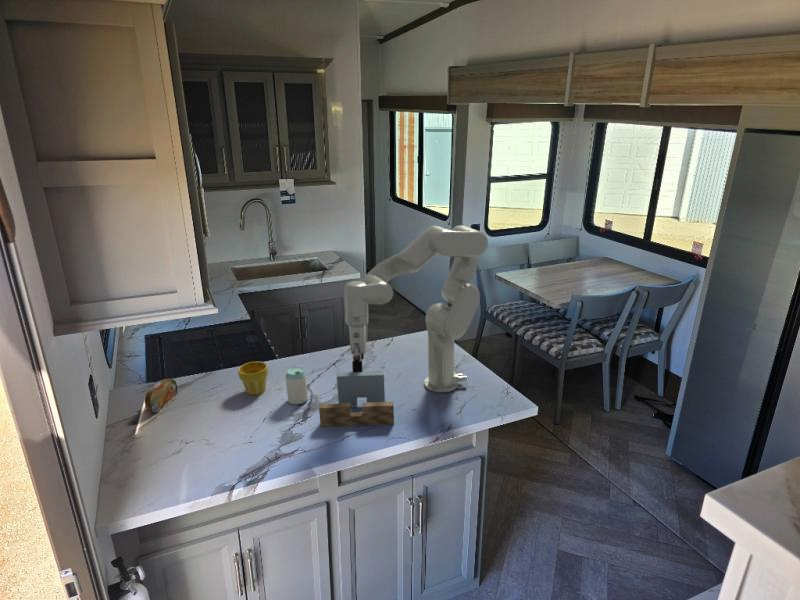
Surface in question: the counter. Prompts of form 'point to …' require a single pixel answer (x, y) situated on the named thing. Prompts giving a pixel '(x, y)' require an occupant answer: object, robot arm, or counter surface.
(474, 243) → the robot arm
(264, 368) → the plant pot
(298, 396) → the can
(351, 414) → the walnut slotted board
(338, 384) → the plain grey board
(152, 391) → the tin
